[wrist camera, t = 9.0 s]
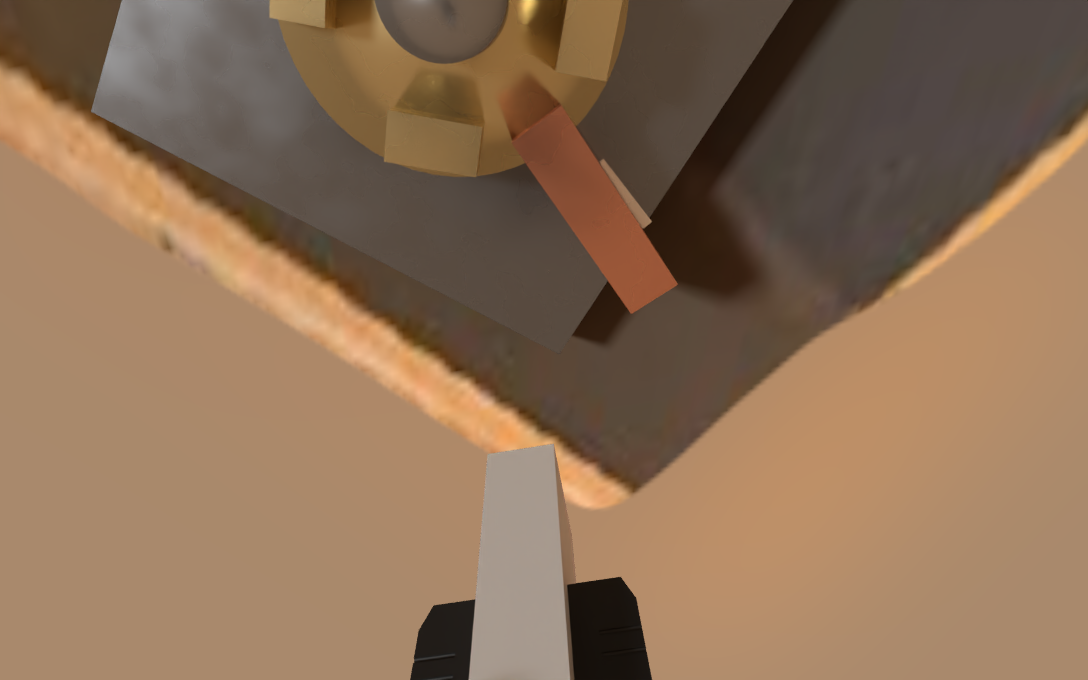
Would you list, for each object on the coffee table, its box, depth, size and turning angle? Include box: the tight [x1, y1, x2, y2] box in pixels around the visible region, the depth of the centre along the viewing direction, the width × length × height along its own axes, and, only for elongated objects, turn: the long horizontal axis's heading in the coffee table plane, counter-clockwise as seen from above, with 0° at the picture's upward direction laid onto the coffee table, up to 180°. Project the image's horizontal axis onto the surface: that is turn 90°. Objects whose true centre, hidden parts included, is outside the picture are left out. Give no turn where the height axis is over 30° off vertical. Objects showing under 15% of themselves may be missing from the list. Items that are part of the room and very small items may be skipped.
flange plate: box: [91, 0, 793, 354], centre depth 21 cm, size 20×20×8 cm
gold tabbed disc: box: [270, 0, 678, 314], centre depth 22 cm, size 18×11×4 cm, turn 35°
